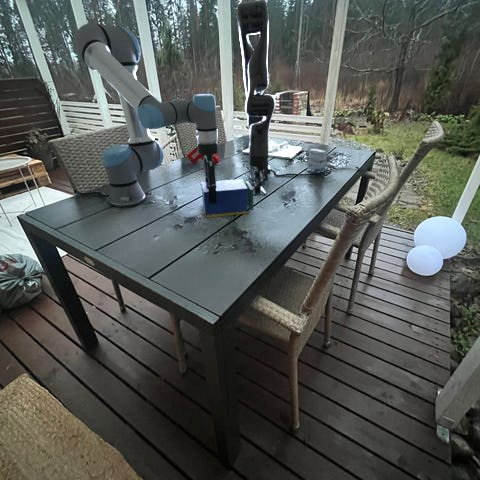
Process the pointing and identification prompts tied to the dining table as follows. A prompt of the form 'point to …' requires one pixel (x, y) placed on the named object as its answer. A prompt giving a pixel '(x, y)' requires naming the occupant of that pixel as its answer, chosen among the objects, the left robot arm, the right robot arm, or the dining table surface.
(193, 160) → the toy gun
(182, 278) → the dining table surface
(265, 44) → the right robot arm
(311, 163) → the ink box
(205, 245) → the dining table surface
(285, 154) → the relief map
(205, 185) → the cabinet
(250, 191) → the drawer
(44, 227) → the dining table surface
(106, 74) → the left robot arm
